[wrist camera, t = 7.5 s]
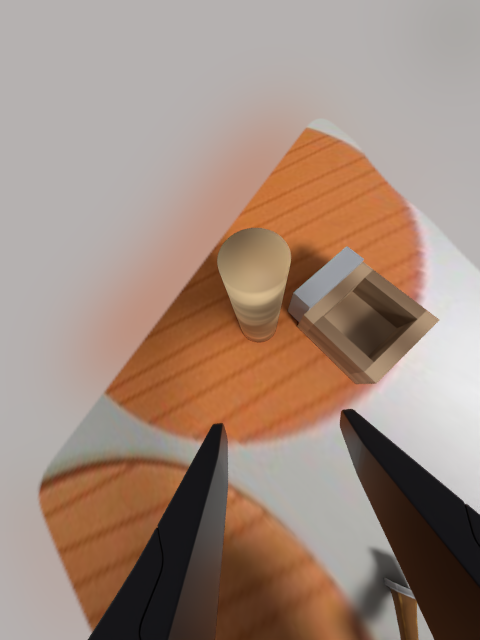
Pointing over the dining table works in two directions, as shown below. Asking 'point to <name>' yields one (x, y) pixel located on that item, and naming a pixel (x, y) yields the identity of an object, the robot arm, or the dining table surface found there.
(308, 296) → the wall
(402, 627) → the brown and silver rod
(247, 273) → the dowel
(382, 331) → the socket block
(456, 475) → the dining table surface
